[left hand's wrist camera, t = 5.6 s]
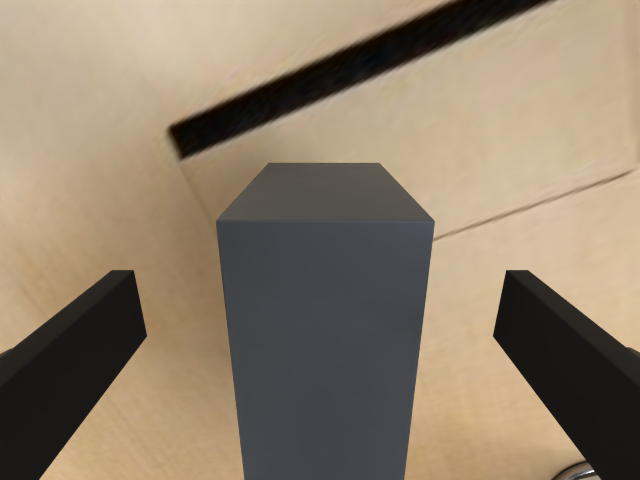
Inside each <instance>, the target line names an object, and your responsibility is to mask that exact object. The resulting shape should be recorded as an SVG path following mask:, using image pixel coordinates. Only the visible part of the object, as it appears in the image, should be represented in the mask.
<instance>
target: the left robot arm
mask: <svg viewBox="0 0 640 480" xmlns="http://www.w3.org/2000/svg"><path fill="white" fill-rule="evenodd" d="M146 337H147V333H146V328H145V324H144V319H143V314H142V309H141V304H140V299H139V294H138V289H137V284H136V279H135V274H134V270H112V271H110V272H109V273H108V274H107V275H105V276H104V277H103V278H102V279H100V280H99V281H98V282H96V283H95V284H94V285H93V286H91V287H90V288H89V289H88V290H86V291H85V292H84V293H82V294H81V295H80V296H79V297H77V298H76V299H75V300H74V301H72V302H71V303H70V304H69V305H67V306H66V307H65V308H63V309H62V310H61V311H60V312H58V313H57V314H56V315H55V316H53V317H52V318H51V319H49V320H48V321H47V322H46V323H44V324H43V325H42V326H41V327H39V328H38V329H37V330H35V331H34V332H33V333H32V334H30V335H29V336H28V337H27V338H25V339H24V340H23V341H22V342H20V343H19V344H18V345H16V346H15V347H14V348H13V349H9V350H7V351H5V352H3V353H1V354H0V480H39V479H40V478H41V476H42V475H43V474H44V472H45V471H46V470H47V468H48V467H49V466H50V464H51V463H52V462H53V460H54V459H55V458H56V456H57V455H58V454H59V452H60V451H61V450H62V448H63V447H64V446H65V444H66V443H67V442H68V440H69V439H70V438H71V436H72V435H73V434H74V432H75V431H76V430H77V429H78V427H79V426H80V425H81V423H82V422H83V421H84V419H85V418H86V417H87V415H88V414H89V413H90V411H91V410H92V409H93V407H94V406H95V405H96V403H97V402H98V401H99V399H100V398H101V397H102V395H103V394H104V393H105V391H106V390H107V389H108V387H109V386H110V385H111V383H112V382H113V381H114V379H115V378H116V377H117V375H118V374H119V373H120V371H121V370H122V369H123V367H124V366H125V365H126V363H127V362H128V361H129V359H130V358H131V357H132V355H133V354H134V353H135V351H136V350H137V349H138V348H139V346H140V345H141V344H142V342H143V341H144V340H145V338H146ZM493 337H494V338H495V340H496V341H497V342H498V344H499V345H500V346H501V348H502V349H503V350H504V351H505V353H506V354H507V355H508V357H509V358H510V359H511V361H512V362H513V363H514V365H515V366H516V367H517V369H518V370H519V371H520V373H521V374H522V375H523V377H524V378H525V379H526V381H527V382H528V383H529V385H530V386H531V387H532V389H533V390H534V391H535V393H536V394H537V395H538V397H539V398H540V399H541V401H542V402H543V403H544V405H545V406H546V407H547V409H548V410H549V411H550V413H551V414H552V415H553V417H554V418H555V419H556V421H557V422H558V423H559V425H560V426H561V427H562V429H563V430H564V431H565V432H566V434H567V435H568V436H569V438H570V439H571V440H572V442H573V443H574V444H575V446H576V447H577V448H578V450H579V451H580V452H581V454H582V455H583V456H584V458H585V459H586V460H587V462H588V463H589V464H590V466H591V467H592V468H593V470H594V471H595V472H596V474H597V475H598V476H599V478H600V479H601V480H640V352H638V351H636V350H634V349H632V348H630V347H625V346H624V345H622V344H621V343H620V342H618V341H617V340H616V339H615V338H613V337H612V336H611V335H610V334H608V333H607V332H606V331H605V330H603V329H602V328H601V327H599V326H598V325H597V324H596V323H594V322H593V321H592V320H591V319H589V318H588V317H587V316H585V315H584V314H583V313H582V312H580V311H579V310H578V309H577V308H575V307H574V306H573V305H571V304H570V303H569V302H568V301H566V300H565V299H564V298H563V297H561V296H560V295H559V294H558V293H556V292H555V291H554V290H552V289H551V288H550V287H549V286H547V285H546V284H545V283H544V282H542V281H541V280H540V279H538V278H537V277H536V276H535V275H533V274H532V273H531V272H530V271H528V270H506V274H505V279H504V284H503V289H502V294H501V299H500V304H499V309H498V314H497V319H496V324H495V328H494V333H493Z"/></svg>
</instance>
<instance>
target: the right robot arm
mask: <svg viewBox="0 0 640 480" xmlns="http://www.w3.org/2000/svg"><path fill="white" fill-rule="evenodd" d="M555 480H601V479H600V478H599V476H598V475H597V474H596V472H595V471H594V470H593V468H592V467H591V466H590V464H589V463H588V462H586V463H583V464H579V465H577V466H574V467H572V468H570V469H568V470H567V471H565V472H563V473H562V474H561V475H559V476H558V477H557V478H556V479H555Z"/></svg>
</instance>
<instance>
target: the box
mask: <svg viewBox="0 0 640 480" xmlns="http://www.w3.org/2000/svg"><path fill="white" fill-rule="evenodd" d="M434 224H435V221H434V220H433V219H432V218H431V216H430V215H429V214H428V213H427V212H426V211H425V210H424V209H423V208H422V207H421V206H420V205H419V204H418V203H417V202H416V201H415V200H414V199H413V198H412V197H411V196H410V195H409V193H408V192H407V191H406V190H405V189H404V188H403V187H402V186H401V185H400V184H399V183H398V182H397V181H396V180H395V179H394V178H393V177H392V176H391V175H390V174H389V173H388V172H387V170H386V169H385V168H384V167H383V166H382V165H381V164H380V163H268V165H267V166H266V167H265V168H264V169H263V170H262V171H261V172H260V173H259V174H258V175H257V177H256V178H255V179H254V180H253V181H252V182H251V183H250V184H249V185H248V186H247V187H246V189H245V190H244V191H243V192H242V193H241V194H240V195H239V196H238V197H237V198H236V199H235V200H234V202H233V203H232V204H231V205H230V206H229V207H228V208H227V209H226V210H225V211H224V212H223V214H222V215H221V216H220V217H219V218H218V219H217V220H216V227H217V236H218V245H219V254H220V263H221V272H222V281H223V290H224V299H225V308H226V317H227V326H228V335H229V344H230V353H231V362H232V371H233V380H234V389H235V398H236V407H237V416H238V425H239V434H240V443H241V452H242V461H243V470H244V479H245V480H404V475H405V467H406V459H407V450H408V442H409V433H410V425H411V417H412V408H413V400H414V392H415V383H416V375H417V366H418V358H419V350H420V341H421V333H422V325H423V316H424V308H425V299H426V291H427V283H428V274H429V266H430V258H431V249H432V241H433V232H434Z"/></svg>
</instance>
